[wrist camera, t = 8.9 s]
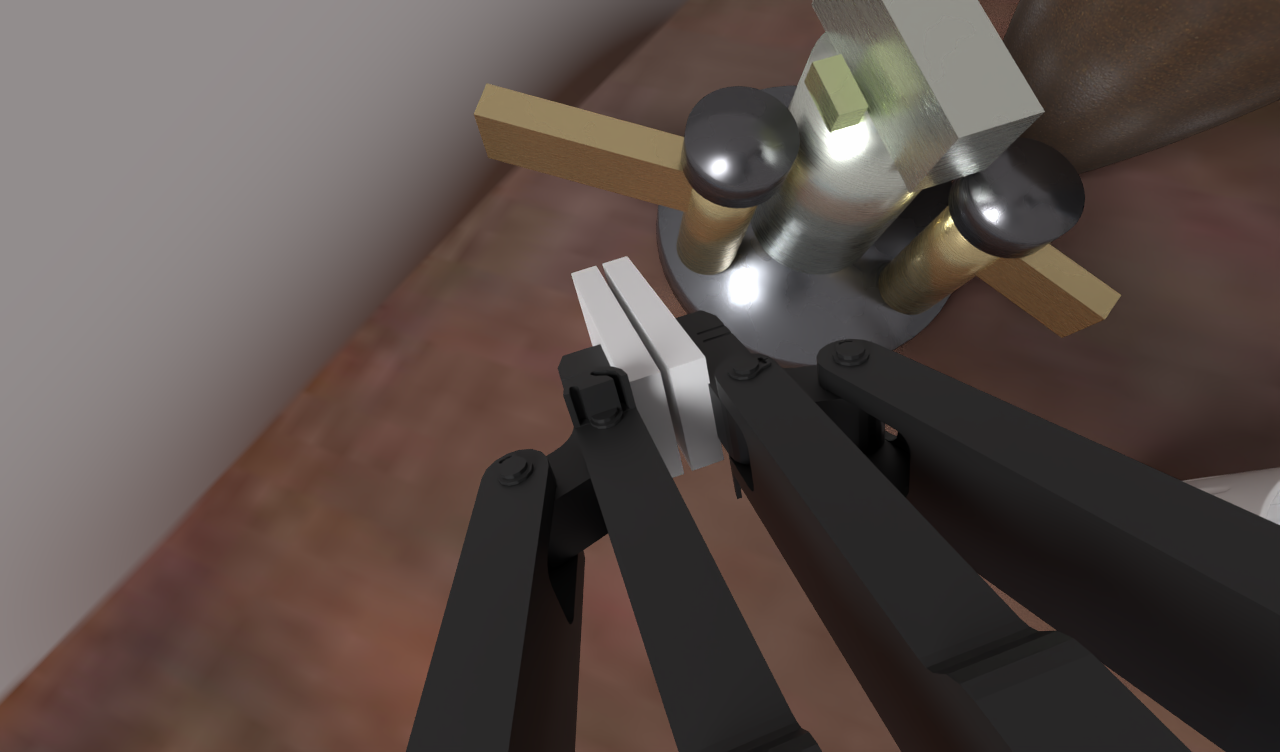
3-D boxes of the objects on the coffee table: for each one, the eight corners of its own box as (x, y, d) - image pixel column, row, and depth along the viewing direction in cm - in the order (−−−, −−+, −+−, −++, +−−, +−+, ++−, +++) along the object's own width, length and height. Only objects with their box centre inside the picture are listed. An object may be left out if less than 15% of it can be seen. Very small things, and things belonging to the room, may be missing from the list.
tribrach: (852, 47, 38) (1000, -255, 24) (1017, 360, 33) (1336, 225, 19) (601, 116, 36) (594, -167, 21) (738, 461, 31) (850, 399, 17)
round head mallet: (755, 222, 32) (810, 103, 23) (736, 295, 31) (786, 199, 22) (522, 158, 33) (487, 16, 24) (495, 228, 32) (448, 106, 22)
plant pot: (1181, 94, 39) (1562, -199, 23) (1117, 280, 35) (1517, 81, 19) (967, -2, 40) (1193, -341, 24) (884, 169, 36) (1087, -102, 21)
